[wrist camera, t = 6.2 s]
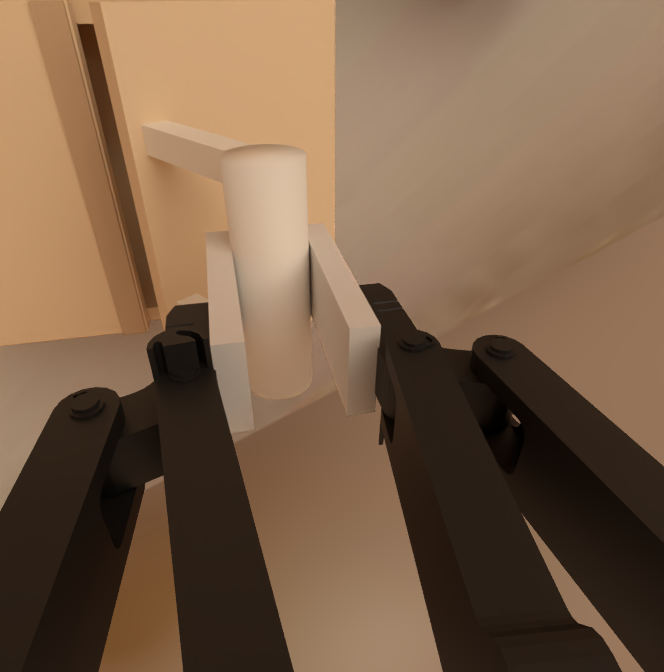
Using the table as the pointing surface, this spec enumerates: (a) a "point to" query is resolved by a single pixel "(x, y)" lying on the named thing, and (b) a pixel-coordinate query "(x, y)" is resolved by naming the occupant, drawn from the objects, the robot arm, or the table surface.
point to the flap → (229, 156)
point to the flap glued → (57, 189)
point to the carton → (116, 145)
